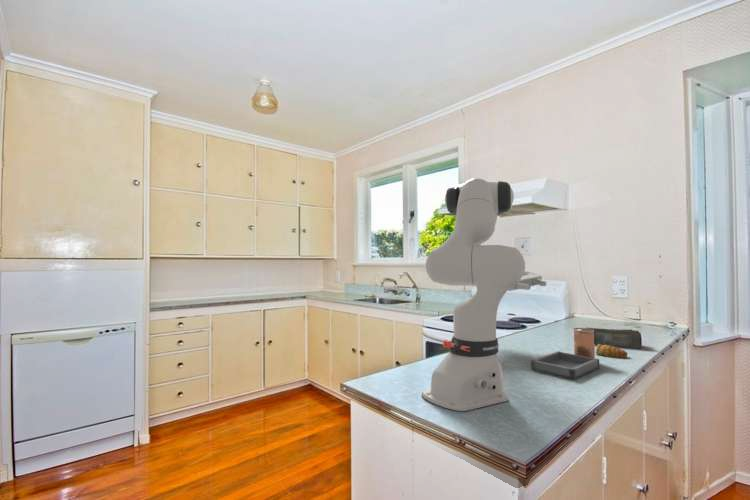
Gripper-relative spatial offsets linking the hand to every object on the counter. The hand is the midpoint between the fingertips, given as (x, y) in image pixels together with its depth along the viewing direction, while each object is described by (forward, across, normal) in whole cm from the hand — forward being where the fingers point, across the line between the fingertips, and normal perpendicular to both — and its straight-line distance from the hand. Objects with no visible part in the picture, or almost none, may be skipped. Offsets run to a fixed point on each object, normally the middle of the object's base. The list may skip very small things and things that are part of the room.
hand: (537, 285), depth 136 cm
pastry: (+19, +16, +25) cm, 36 cm away
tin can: (+19, 0, +23) cm, 30 cm away
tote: (+21, -14, +21) cm, 33 cm away
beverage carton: (+12, +35, +28) cm, 46 cm away
